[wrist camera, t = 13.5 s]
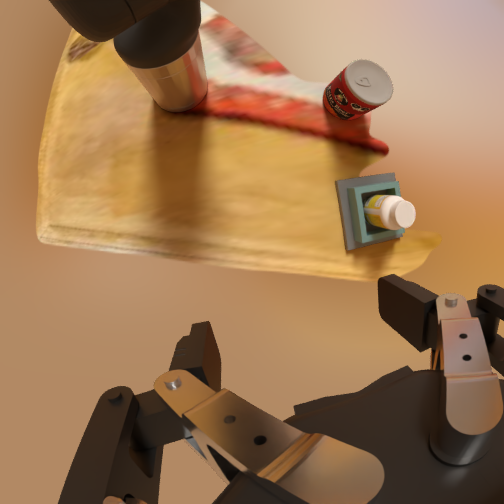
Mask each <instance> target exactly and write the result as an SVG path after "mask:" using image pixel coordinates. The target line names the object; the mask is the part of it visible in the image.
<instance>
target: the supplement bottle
mask: <svg viewBox="0 0 504 504" xmlns="http://www.w3.org/2000/svg"><path fill="white" fill-rule="evenodd" d="M363 211H364V218H365V221H366V222H367V223H368V224H370V225H373V226H377V227H382V228H386V229H390V230H399V229H401V228H408V227H410V226H411V225H412V224H413V222H414V220H415V215H416V213H415V208H414V206H413V205H412V204H411V203H410V202H408V201H404V200H403V199H402V198H401V197H399V196H394V195H372V196H369V197H368V198H366V200H365V201H364V203H363Z"/></svg>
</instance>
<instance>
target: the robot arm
mask: <svg viewBox="0 0 504 504" xmlns="http://www.w3.org/2000/svg"><path fill="white" fill-rule="evenodd" d="M49 1H50V2H51V3H52V5H53V6H54V7H55V8H56V9H57V11H58V12H59V13H60V14H61V15H62V17H63V18H64V19H65V20H66V21H67V22H68V23H69V24H70V25H71V26H72V27H73V28H74V29H75V30H76V31H77V32H78V33H80V34H81V35H82V36H84V37H85V38H87V39H89V40H91V41H94V42H105V41H108V40H110V39H112V38H114V46H115V49H116V51H117V53H118V54H119V56H120V57H121V58H122V60H123V61H124V62H125V63H126V65H127V66H128V67H129V68H130V70H131V71H132V72H133V73H134V74H135V76H136V77H137V78H138V79H139V81H140V82H141V83H142V85H143V86H144V87H145V88H146V90H147V91H148V92H149V93H150V95H151V96H152V97H153V99H154V100H155V101H156V102H157V104H158V105H159V106H160V107H161V108H163V109H165V110H167V111H170V112H183V111H187V110H190V109H192V108H193V107H195V106H196V105H198V104H199V103H200V102H201V101H202V99H203V98H204V96H205V95H206V92H207V88H208V83H207V77H206V70H205V64H204V58H203V52H202V46H201V40H200V35H199V26H200V23H201V10H200V0H49ZM378 302H379V313H380V316H381V318H382V319H383V320H384V321H385V322H386V323H387V324H388V325H390V326H391V327H392V328H393V329H394V330H395V331H397V332H398V333H399V334H400V335H401V336H402V337H403V338H405V339H406V340H407V341H408V342H409V343H410V344H411V345H413V346H414V347H415V348H416V349H417V350H418V351H419V352H422V351H425V350H427V349H429V348H432V349H431V356H430V370H420V371H414V372H413V371H412V370H411V369H410V368H409V367H408V366H405V367H403V368H400V369H399V370H396V371H394V372H392V373H389V374H387V375H384V376H382V377H381V378H379V379H378V380H377V381H375V382H373V383H372V384H370V385H369V386H367V387H365V388H364V389H362V390H360V391H358V392H355V393H349V394H343V395H336V396H330V397H323V398H320V399H317V400H313V401H310V402H306V403H302V404H299V405H295V406H294V411H295V415H293V416H291V417H289V418H288V419H286V420H284V421H281V420H279V419H277V418H275V417H273V416H271V415H270V414H268V413H266V412H264V411H263V410H261V409H259V408H257V407H256V406H254V405H252V404H250V403H249V402H247V401H246V400H244V399H242V398H241V397H239V396H237V395H236V394H234V393H232V392H231V391H229V390H227V389H225V388H224V389H221V358H220V353H219V349H218V346H217V343H216V340H215V337H214V334H213V331H212V327H211V324H210V322H209V321H206V322H201V323H195V324H192V328H191V332H190V335H189V336H183V337H182V338H181V340H180V341H179V342H178V343H177V345H176V349H175V352H174V356H173V358H172V362H171V365H170V368H169V372H166V373H164V374H162V375H161V376H159V377H158V378H157V379H156V381H155V383H154V389H153V390H151V391H148V392H145V393H142V394H138V395H134V393H133V391H132V390H131V389H130V388H128V387H126V386H118V387H114V388H112V389H109V390H108V391H106V392H105V393H104V394H102V396H101V397H100V399H99V401H98V403H97V405H96V407H95V409H94V412H93V414H92V416H91V418H90V421H89V423H88V425H87V428H86V430H85V432H84V435H83V437H82V439H81V442H80V444H79V447H78V449H77V452H76V454H75V457H74V459H73V462H72V465H71V467H70V470H69V473H68V476H67V478H66V481H65V484H64V487H63V490H62V492H61V495H60V499H59V502H58V504H158V496H159V483H160V473H161V464H162V454H163V446H164V445H165V444H168V443H171V442H175V441H178V440H181V439H183V440H184V441H185V442H186V443H187V444H188V445H189V446H190V447H191V448H192V449H193V450H194V451H195V452H196V453H197V454H198V455H199V456H200V457H201V458H202V459H203V460H204V461H205V462H206V463H207V464H208V465H209V466H210V467H211V468H212V469H213V470H214V471H215V472H216V473H217V475H218V476H219V477H220V478H221V479H222V480H223V481H224V482H225V483H226V484H227V485H228V486H227V487H226V488H225V489H224V491H223V492H222V493H221V494H220V495H219V496H218V497H217V499H216V500H215V501H214V502H213V503H212V504H504V380H502V379H498V376H497V374H496V373H493V372H492V369H491V366H492V367H493V368H494V369H496V370H497V371H498V372H499V373H500V374H502V376H504V338H502V337H501V336H500V335H498V334H497V330H498V325H499V321H500V319H501V320H503V321H504V289H503V288H501V287H499V286H497V285H490V284H489V285H483V286H481V287H479V288H478V291H477V298H476V299H473V300H469V301H466V299H465V297H463V296H462V295H459V294H455V293H448V294H443V295H441V296H438V295H436V294H435V293H432V292H431V291H429V290H427V289H426V290H425V288H423V287H420V285H418V284H416V283H414V282H409V281H406V280H404V279H402V278H400V277H398V276H396V275H395V274H391V275H388V276H385V277H381V278H379V280H378Z"/></svg>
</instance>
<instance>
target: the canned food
mask: <svg viewBox="0 0 504 504" xmlns="http://www.w3.org/2000/svg"><path fill="white" fill-rule="evenodd" d="M392 93H393V85H392V81H391V79H390V77H389V75H388V74H387V72H385V70H384V69H383V68H382V67H380V66H379V65H378V64H376V63H374V62H372V61H369V60H363V59H360V60H355V61H353V62H352V63H350V64H349V65H348V66H347V67H346V68H345V69H344V70H343V71H342V72H341V73H340V74H339V75H338V76H337V77H336V78H335V79H334V80H333V81H332V82H331V83H330V84H329V85H328V86H327V87H326V89H325V91H324V94H323V101H324V105H325V107H326V108H327V110H328V111H329V112H330V113H331V114H332V115H333V116H335V117H337V118H339V119H342V120H353V119H356V118H358V117H360V116H362V115H364V114H366V113H368V112H369V111H371V110H373V109H375V108H377V107H379V106H381V105H383V104H384V103H386V102H387V101H388V100H390V98H391V96H392Z"/></svg>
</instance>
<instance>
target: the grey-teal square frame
mask: <svg viewBox="0 0 504 504" xmlns="http://www.w3.org/2000/svg"><path fill="white" fill-rule="evenodd" d="M335 184H336V190H337V195H338V201H339V207H340V213H341V219H342V226H343V233H344V240H345V247H346V250H352V249H356V248H360V247H364V246H368V245H372V244H376V243H380V242H384V241H387V240H391V239H395V238H399V237H403V235H402V233H405V229H404V228H401V229H399V230H390V229H386V228H382V227H377V226H373V225H370V224H368V223H367V222H366V221H365V218H364V211H363V203H364V201H365V200H366V198H368V197H369V196H372V195H394V196H399V197H401V195H400V188H399V182H398V181H396V179H395V173H386V174H379V175H371V176H364V177H358V178H351V179H345V180H338V181H335Z"/></svg>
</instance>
